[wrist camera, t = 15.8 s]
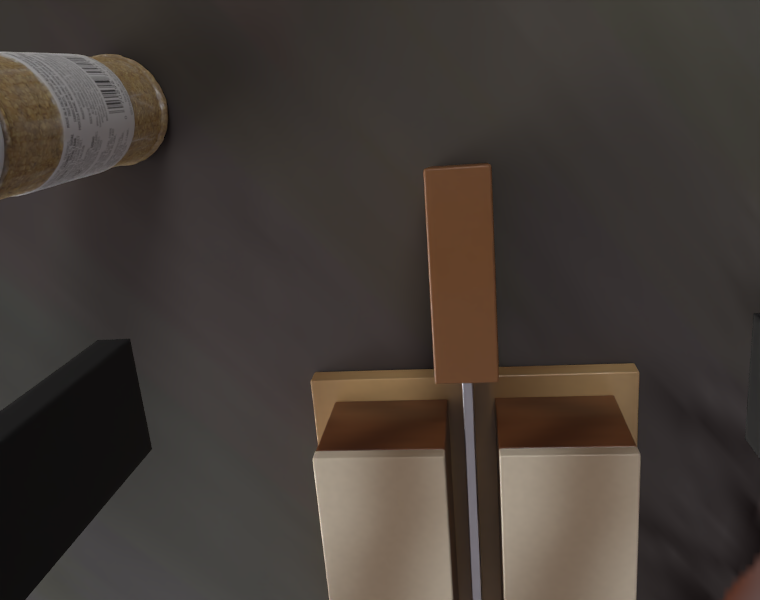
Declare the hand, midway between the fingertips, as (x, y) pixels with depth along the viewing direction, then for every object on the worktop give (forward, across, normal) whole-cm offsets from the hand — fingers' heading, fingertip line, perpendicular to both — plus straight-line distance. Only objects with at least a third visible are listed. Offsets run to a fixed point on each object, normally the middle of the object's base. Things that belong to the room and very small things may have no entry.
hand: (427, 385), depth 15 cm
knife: (+14, 0, -9) cm, 17 cm away
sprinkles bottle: (+16, -13, +6) cm, 22 cm away
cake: (+16, 0, -13) cm, 21 cm away
